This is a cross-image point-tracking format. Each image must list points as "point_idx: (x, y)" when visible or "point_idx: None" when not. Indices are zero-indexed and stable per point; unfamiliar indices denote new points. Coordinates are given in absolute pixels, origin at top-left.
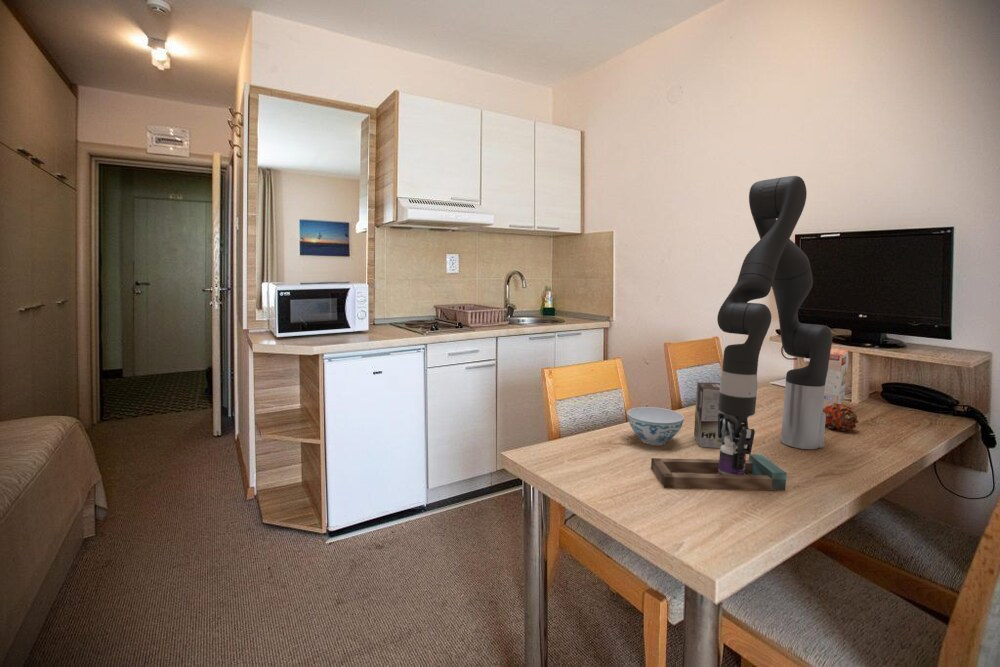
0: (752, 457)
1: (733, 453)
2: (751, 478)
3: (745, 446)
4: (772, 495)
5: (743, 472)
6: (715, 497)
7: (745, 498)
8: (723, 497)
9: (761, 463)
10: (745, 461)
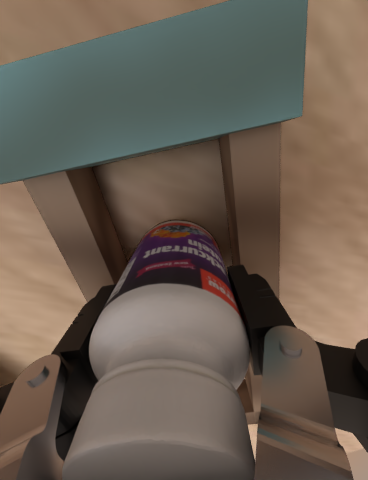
0: (37, 175)
1: (256, 371)
2: (276, 227)
3: (326, 404)
4: (308, 140)
5: (208, 243)
6: (317, 314)
7: (328, 244)
8: (318, 297)
9: (143, 148)
10: (54, 202)
